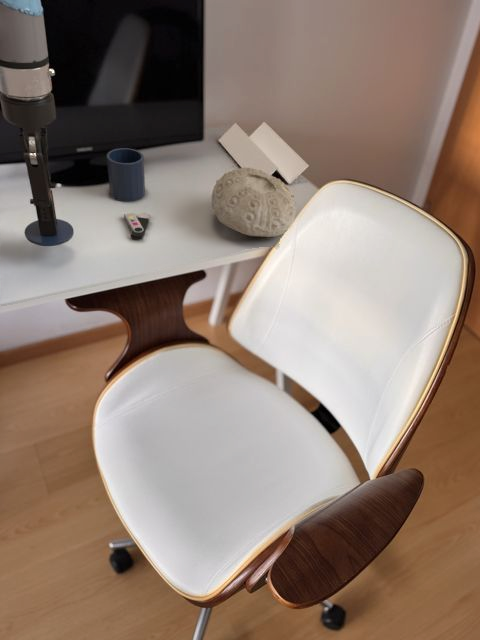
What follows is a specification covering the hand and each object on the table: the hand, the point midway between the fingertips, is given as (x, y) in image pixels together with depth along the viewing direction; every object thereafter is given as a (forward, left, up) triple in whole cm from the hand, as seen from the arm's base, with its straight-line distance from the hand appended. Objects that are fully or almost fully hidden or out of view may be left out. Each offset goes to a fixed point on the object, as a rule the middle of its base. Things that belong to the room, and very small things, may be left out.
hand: (48, 228), depth 97 cm
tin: (+15, +22, -6) cm, 27 cm away
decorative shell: (+39, +8, -5) cm, 41 cm away
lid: (0, 0, -1) cm, 1 cm away
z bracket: (+52, +37, -6) cm, 64 cm away
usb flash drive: (+15, +8, -6) cm, 18 cm away
